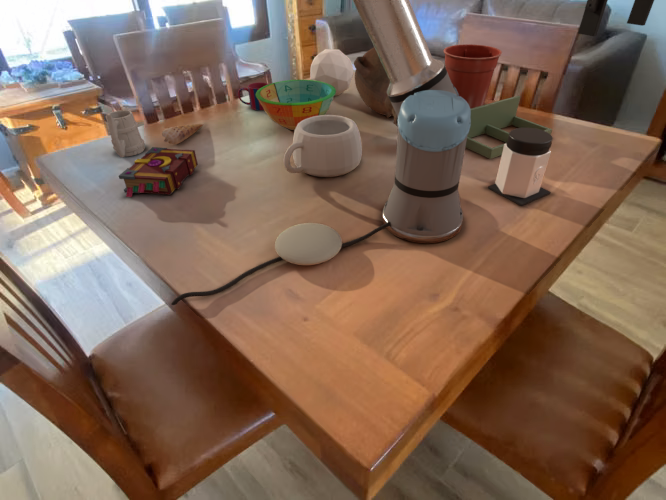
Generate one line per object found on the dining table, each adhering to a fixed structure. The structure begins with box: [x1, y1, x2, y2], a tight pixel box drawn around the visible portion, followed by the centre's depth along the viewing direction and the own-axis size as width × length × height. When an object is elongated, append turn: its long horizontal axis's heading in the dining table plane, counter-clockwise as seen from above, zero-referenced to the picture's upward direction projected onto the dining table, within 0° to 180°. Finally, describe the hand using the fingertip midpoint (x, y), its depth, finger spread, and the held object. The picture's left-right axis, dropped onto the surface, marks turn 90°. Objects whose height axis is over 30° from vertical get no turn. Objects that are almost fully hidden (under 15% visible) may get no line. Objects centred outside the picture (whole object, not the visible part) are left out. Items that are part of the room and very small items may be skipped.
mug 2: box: [283, 114, 363, 178], centre depth 100 cm, size 21×17×10 cm
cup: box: [237, 81, 269, 111], centre depth 136 cm, size 7×10×7 cm
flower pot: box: [443, 43, 503, 109], centre depth 130 cm, size 16×16×16 cm
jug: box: [353, 46, 398, 127], centre depth 122 cm, size 20×20×30 cm
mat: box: [487, 183, 552, 207], centre depth 92 cm, size 9×9×1 cm
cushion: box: [274, 222, 343, 266], centre depth 76 cm, size 12×12×3 cm
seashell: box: [161, 123, 205, 145], centre depth 118 cm, size 4×18×5 cm, turn 159°
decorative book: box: [118, 146, 199, 198], centre depth 98 cm, size 11×16×5 cm
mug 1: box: [105, 109, 146, 158], centre depth 108 cm, size 8×12×12 cm, turn 5°
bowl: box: [256, 79, 336, 131], centre depth 122 cm, size 22×22×10 cm
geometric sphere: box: [309, 48, 354, 97], centre depth 143 cm, size 14×15×15 cm
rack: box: [465, 95, 553, 160], centre depth 111 cm, size 22×13×8 cm, turn 121°
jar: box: [494, 127, 554, 198], centre depth 88 cm, size 9×8×12 cm
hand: (612, 29), depth 71 cm, fingers open, 13 cm apart
